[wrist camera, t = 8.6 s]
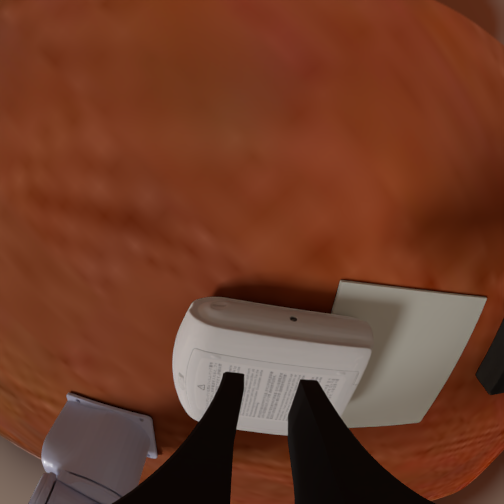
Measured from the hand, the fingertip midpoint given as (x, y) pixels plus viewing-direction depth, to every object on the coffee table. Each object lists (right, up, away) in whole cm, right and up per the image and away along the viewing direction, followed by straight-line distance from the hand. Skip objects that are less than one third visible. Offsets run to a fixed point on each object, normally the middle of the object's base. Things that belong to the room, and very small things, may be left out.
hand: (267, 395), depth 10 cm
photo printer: (+7, -4, +10) cm, 12 cm away
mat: (+11, -5, +12) cm, 17 cm away
